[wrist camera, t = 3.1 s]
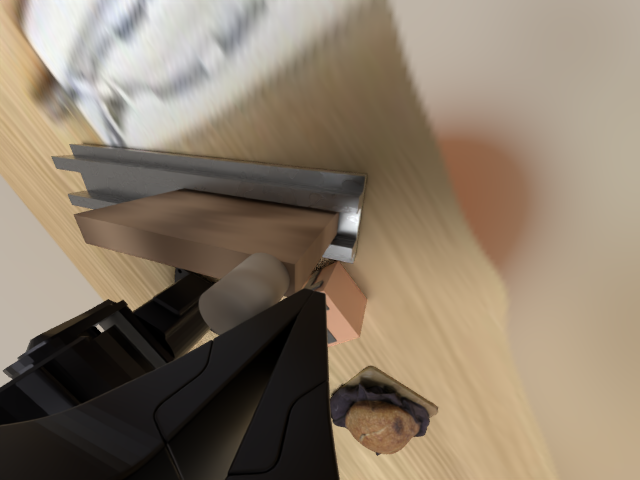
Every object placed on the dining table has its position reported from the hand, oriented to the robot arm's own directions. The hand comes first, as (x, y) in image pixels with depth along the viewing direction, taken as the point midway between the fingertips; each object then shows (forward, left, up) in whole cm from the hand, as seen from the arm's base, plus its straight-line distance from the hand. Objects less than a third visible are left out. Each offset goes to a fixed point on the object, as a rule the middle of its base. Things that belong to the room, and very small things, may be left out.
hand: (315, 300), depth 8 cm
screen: (-2, +7, -8) cm, 10 cm away
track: (-4, +12, -9) cm, 16 cm away
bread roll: (-17, -11, -10) cm, 22 cm away
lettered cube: (-6, -1, -9) cm, 11 cm away
